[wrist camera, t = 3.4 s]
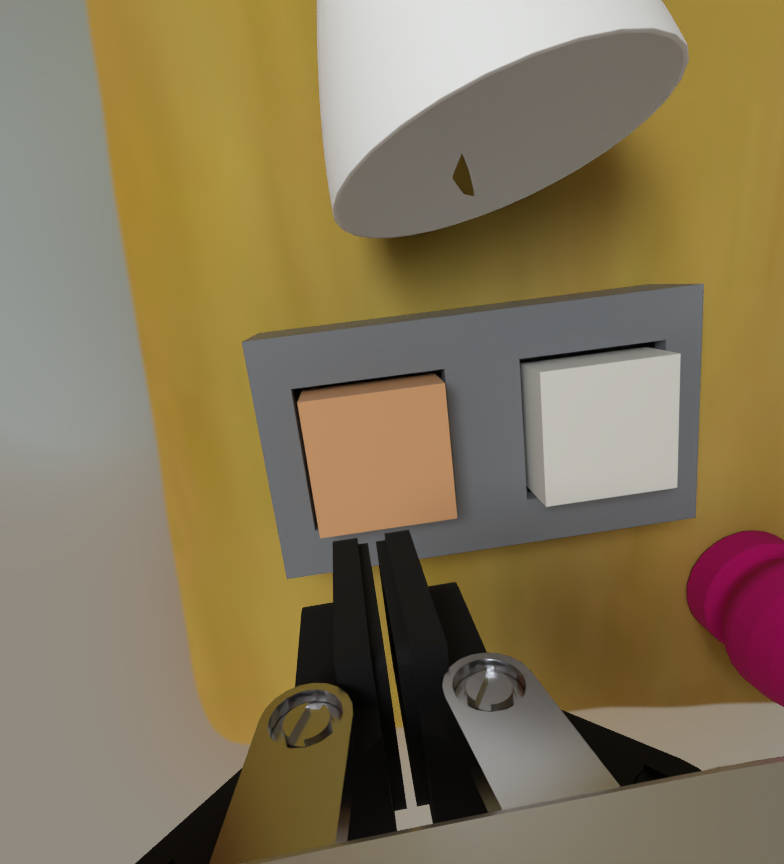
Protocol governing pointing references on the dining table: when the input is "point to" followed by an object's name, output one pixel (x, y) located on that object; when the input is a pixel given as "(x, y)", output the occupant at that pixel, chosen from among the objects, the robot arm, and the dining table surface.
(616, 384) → the white key
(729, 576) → the pepper mill
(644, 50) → the rocket engine
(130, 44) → the dining table surface
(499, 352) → the key panel
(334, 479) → the orange key
